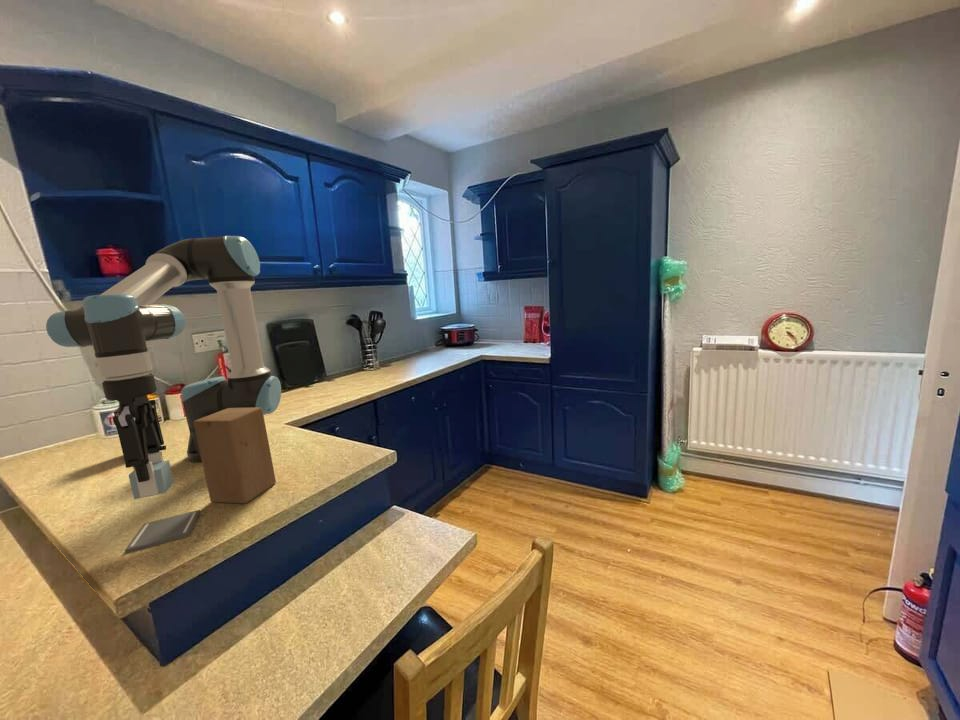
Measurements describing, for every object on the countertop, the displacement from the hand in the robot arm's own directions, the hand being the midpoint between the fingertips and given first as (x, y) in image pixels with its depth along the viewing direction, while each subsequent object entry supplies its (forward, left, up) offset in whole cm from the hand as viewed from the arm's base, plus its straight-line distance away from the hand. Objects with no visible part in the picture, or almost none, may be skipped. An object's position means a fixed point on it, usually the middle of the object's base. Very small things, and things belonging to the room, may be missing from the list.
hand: (154, 488), depth 79 cm
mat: (0, 0, -10) cm, 10 cm away
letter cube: (0, 0, 0) cm, 0 cm away
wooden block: (-10, +13, -10) cm, 19 cm away
